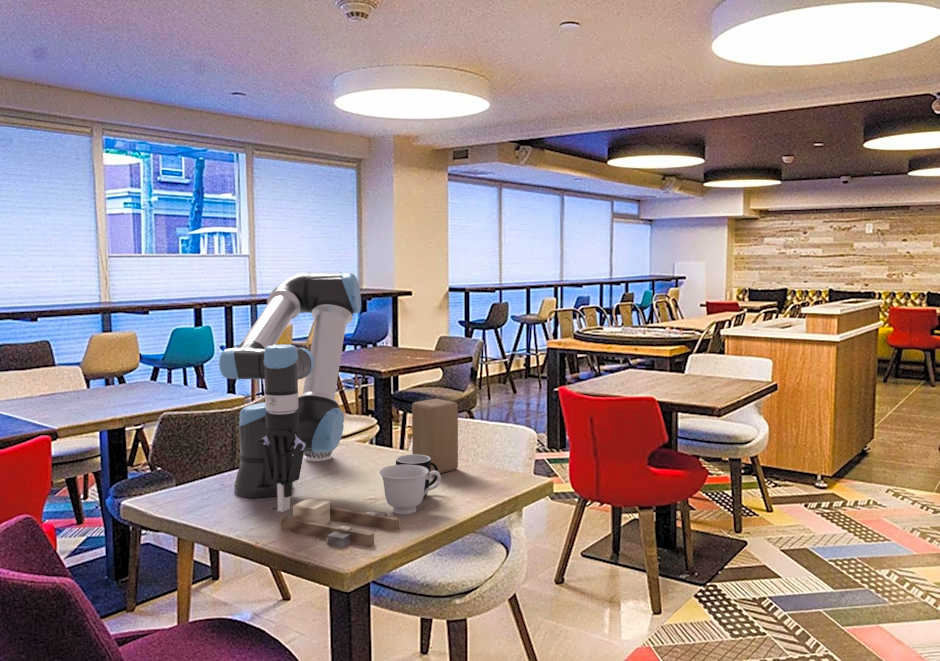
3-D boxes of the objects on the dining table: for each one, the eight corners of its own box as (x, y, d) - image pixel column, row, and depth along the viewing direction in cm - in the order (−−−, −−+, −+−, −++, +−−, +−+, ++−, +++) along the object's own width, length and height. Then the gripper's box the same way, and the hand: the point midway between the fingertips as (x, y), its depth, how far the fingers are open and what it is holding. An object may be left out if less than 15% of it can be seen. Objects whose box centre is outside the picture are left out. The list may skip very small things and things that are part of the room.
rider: (293, 526, 175) (292, 505, 175) (309, 518, 180) (308, 498, 180) (314, 530, 173) (314, 509, 172) (330, 522, 178) (329, 501, 178)
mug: (407, 504, 190) (407, 465, 189) (389, 495, 198) (389, 457, 197) (447, 496, 197) (447, 457, 196) (428, 487, 204) (428, 450, 204)
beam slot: (272, 533, 170) (272, 521, 170) (321, 509, 186) (321, 498, 186) (362, 551, 160) (362, 538, 160) (406, 524, 176) (405, 512, 176)
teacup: (442, 518, 180) (441, 476, 179) (378, 519, 179) (378, 478, 178) (440, 502, 192) (439, 463, 191) (380, 503, 191) (380, 464, 190)
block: (437, 463, 229) (437, 397, 228) (459, 469, 222) (459, 402, 220) (411, 469, 223) (410, 401, 221) (433, 476, 215) (432, 406, 213)
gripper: (249, 411, 177) (251, 510, 179) (293, 416, 171) (296, 518, 173) (270, 406, 184) (272, 501, 186) (314, 410, 178) (316, 508, 180)
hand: (284, 509), depth 180 cm, fingers closed
